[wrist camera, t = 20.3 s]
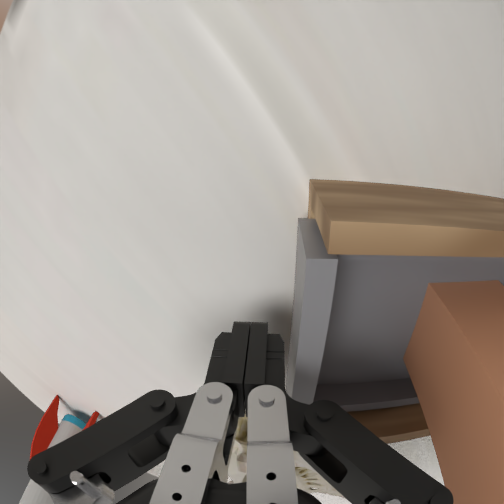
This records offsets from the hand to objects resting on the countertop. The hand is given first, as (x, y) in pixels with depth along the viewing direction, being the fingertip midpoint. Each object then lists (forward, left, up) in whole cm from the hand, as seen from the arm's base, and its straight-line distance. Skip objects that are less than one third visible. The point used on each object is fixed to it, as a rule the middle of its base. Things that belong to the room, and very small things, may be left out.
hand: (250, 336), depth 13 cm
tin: (0, +11, -1) cm, 11 cm away
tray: (0, +8, -2) cm, 9 cm away
